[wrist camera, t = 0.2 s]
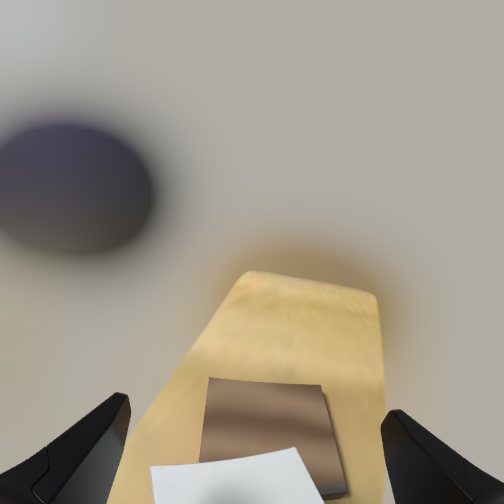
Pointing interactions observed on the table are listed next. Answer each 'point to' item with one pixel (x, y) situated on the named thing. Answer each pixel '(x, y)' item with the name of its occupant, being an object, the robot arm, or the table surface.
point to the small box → (237, 481)
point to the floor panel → (272, 427)
